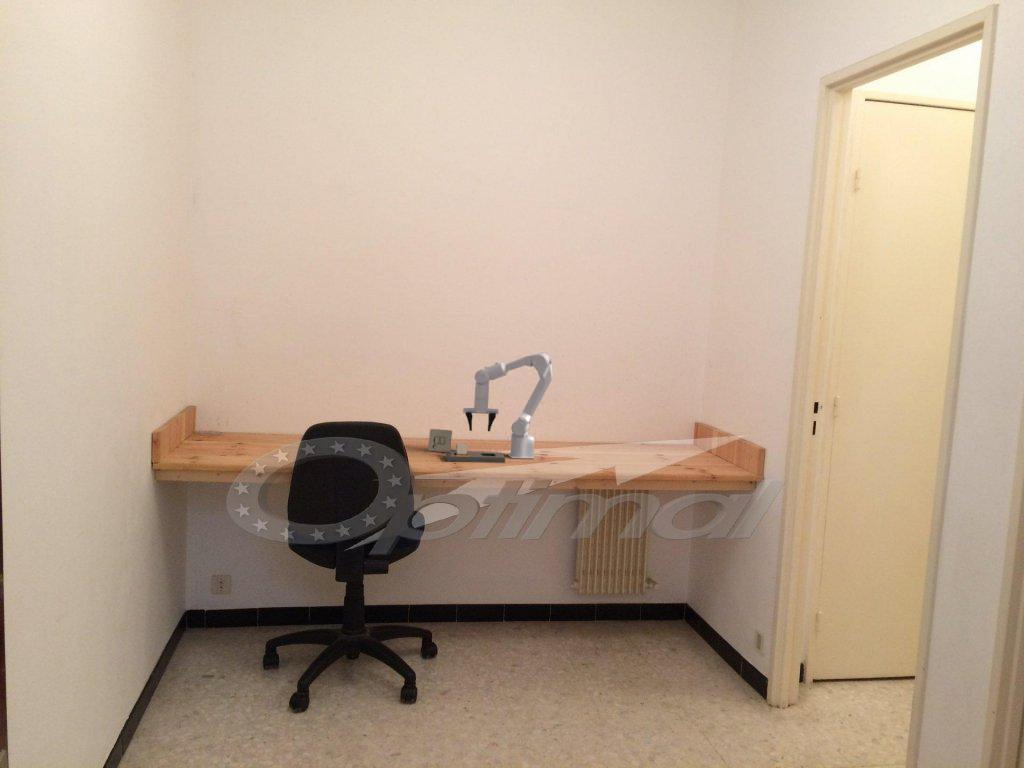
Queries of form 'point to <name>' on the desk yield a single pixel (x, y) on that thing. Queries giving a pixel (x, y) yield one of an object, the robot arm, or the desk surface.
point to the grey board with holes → (475, 457)
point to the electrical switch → (440, 440)
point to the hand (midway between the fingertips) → (479, 430)
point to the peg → (461, 449)
